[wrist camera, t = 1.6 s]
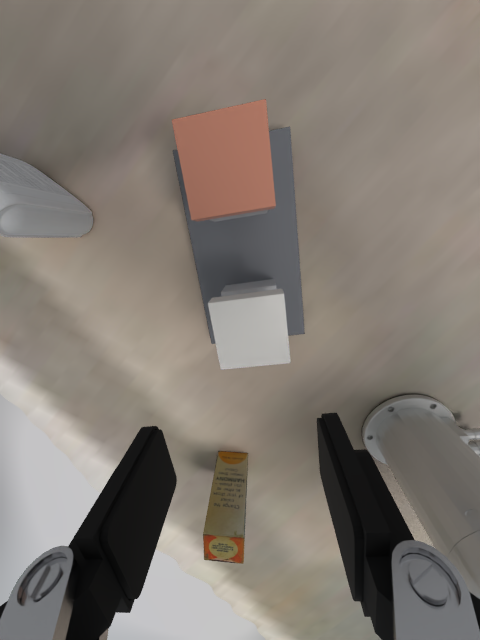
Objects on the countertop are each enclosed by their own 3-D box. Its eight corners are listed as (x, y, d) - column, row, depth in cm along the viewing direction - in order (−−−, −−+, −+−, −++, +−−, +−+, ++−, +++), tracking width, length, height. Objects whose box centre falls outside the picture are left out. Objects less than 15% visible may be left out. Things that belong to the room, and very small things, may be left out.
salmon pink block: (263, 134, 22) (265, 99, 16) (271, 213, 24) (275, 205, 18) (193, 149, 22) (171, 119, 17) (206, 223, 24) (191, 220, 19)
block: (287, 134, 26) (296, 106, 20) (301, 328, 33) (311, 347, 27) (178, 156, 27) (157, 135, 22) (214, 337, 34) (205, 358, 28)
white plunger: (278, 280, 26) (284, 293, 20) (283, 336, 28) (290, 362, 22) (218, 288, 26) (207, 303, 21) (228, 343, 28) (220, 369, 23)
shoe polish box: (218, 473, 42) (204, 559, 31) (218, 451, 41) (203, 533, 29) (247, 475, 42) (243, 563, 31) (248, 453, 40) (244, 537, 29)
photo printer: (10, 188, 30) (-151, 158, 18) (22, 155, 28) (-143, 98, 17) (86, 242, 31) (-18, 246, 19) (100, 213, 30) (-1, 198, 18)
